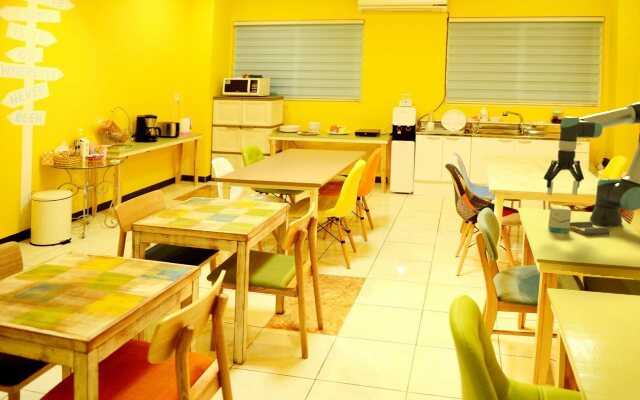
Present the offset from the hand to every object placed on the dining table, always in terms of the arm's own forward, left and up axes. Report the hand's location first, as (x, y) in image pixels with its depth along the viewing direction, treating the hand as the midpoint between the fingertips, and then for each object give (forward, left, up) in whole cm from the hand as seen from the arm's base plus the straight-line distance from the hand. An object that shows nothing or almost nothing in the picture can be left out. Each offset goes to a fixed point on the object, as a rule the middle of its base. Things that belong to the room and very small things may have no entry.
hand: (562, 194), depth 296 cm
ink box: (0, 0, -18) cm, 18 cm away
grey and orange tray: (-14, +4, -18) cm, 23 cm away
